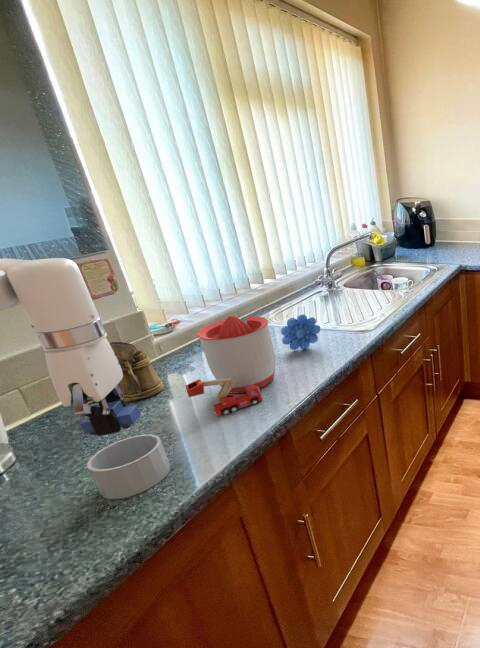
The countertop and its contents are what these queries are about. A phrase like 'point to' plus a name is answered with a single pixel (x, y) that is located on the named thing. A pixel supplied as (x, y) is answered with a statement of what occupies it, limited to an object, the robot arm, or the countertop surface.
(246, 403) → the toy fire truck
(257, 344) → the citrus juicer
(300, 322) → the blue flower
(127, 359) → the wooden mug
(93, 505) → the countertop surface
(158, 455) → the grey bowl
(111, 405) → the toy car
